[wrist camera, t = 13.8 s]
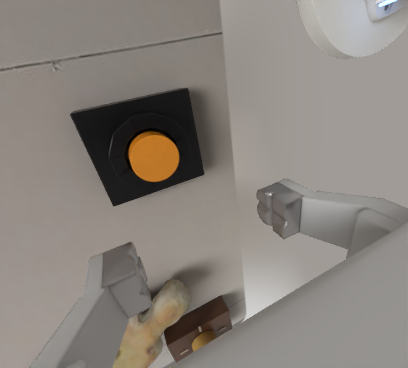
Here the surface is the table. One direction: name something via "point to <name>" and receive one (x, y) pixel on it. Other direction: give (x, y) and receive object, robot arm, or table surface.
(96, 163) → the switch box
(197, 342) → the dimmer knob
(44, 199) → the table surface
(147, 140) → the light button
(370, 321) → the robot arm
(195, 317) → the dimmer panel
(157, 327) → the statue
